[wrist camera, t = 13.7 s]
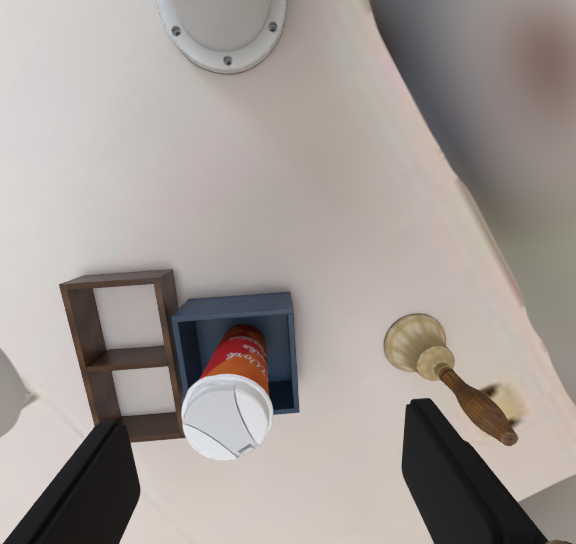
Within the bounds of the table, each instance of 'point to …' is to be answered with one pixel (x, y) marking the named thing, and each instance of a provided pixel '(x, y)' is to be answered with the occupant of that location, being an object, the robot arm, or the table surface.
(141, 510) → the table surface
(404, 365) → the hand bell
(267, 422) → the paper cup
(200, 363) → the blue square tray
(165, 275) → the wooden divided tray
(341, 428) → the table surface
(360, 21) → the table surface
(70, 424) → the table surface
